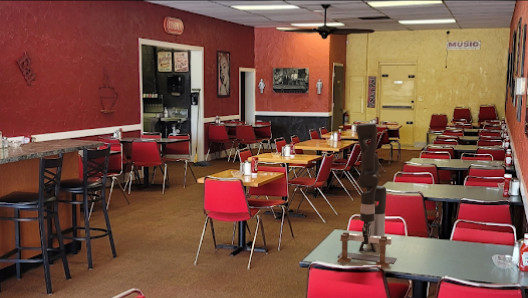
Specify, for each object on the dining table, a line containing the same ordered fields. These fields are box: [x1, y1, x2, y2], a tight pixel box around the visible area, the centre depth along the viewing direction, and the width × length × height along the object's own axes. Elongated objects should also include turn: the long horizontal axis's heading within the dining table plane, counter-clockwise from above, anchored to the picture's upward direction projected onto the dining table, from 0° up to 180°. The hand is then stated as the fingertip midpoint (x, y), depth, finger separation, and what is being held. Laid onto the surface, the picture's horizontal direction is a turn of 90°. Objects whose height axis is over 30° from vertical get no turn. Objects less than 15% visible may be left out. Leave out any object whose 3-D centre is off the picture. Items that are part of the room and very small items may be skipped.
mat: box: [337, 251, 397, 265], centre depth 306 cm, size 9×30×1 cm, turn 68°
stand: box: [337, 231, 390, 269], centre depth 297 cm, size 6×26×15 cm, turn 68°
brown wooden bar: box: [348, 232, 393, 246], centre depth 305 cm, size 3×26×3 cm, turn 67°
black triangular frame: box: [358, 234, 376, 253], centre depth 320 cm, size 9×6×12 cm, turn 77°
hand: (366, 243), depth 305 cm, fingers closed on brown wooden bar, 3 cm apart
